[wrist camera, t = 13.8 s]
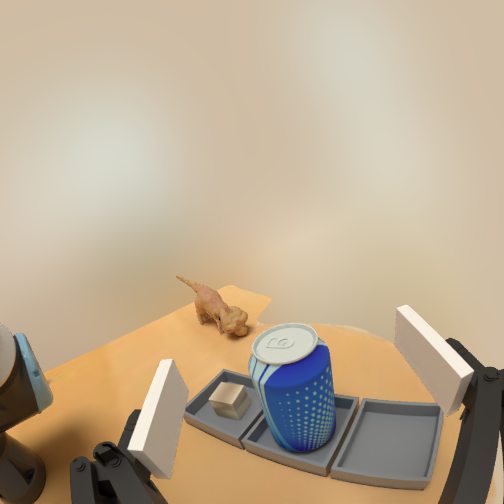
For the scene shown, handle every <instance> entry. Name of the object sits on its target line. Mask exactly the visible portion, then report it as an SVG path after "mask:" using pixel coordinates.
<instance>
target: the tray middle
mask: <svg viewBox="0 0 504 504" xmlns="http://www.w3.org/2000/svg"><path fill="white" fill-rule="evenodd" d="M334 400H335V412H336V428H335V431H334V433H333V435H332V436H331V438H330V439H329V440H328V441H327V442H326V443H324V444H323V445H321V446H320V447H318V448H315V449H313V450H309V451H302V452H297V451H290V450H287V449H284V448H282V447H281V446H280V445H278V444H277V443H276V441H275V440H274V438H273V436H272V433H271V431H270V428H269V425H268V423H267V420H266V417H265V415H264V413H263V415H262V416H261V417H260V418H259V420H258V421H257V422H256V423H255V425H254V426H253V427H252V428H251V430H250V431H249V432H248V433H247V434H246V436H245V437H244V438H243V439H242V440H241V441H242V443H243V445H244V446H245V448H246V450H247V452H250V453H252V454H255V455H257V456H260V457H263V458H265V459H268V460H271V461H274V462H276V463H279V464H282V465H285V466H288V467H292V468H295V469H298V470H302V471H305V472H309V473H312V474H316V475H320V476H324V477H327V476H328V474H329V472H330V470H331V467H332V465H333V463H334V461H335V460H336V458H337V456H338V454H339V452H340V450H341V448H342V446H343V444H344V441H345V439H346V437H347V435H348V433H349V431H350V429H351V426H352V424H353V422H354V419H355V417H356V415H357V412H358V410H359V397H351V396H344V395H337V394H334Z"/></svg>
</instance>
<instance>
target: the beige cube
mask: <svg viewBox="0 0 504 504" xmlns="http://www.w3.org/2000/svg"><path fill="white" fill-rule="evenodd" d="M209 401H210V403H211V405H212V407H213V409H214V411H215V413H216V415H217V416H220V417H224V418H229V419H233V420H238V421H240V420H241V418H242V417H243V415H244V413H245V411H246V410H247V408H248V406H249V405H250V403H251V402H250V399H249V397H248V394H247V392H246V389H245V386H244V385H237V384H231V383H225V382H221V383H220V384H219V386H218V387H217V388H216V390H215V391H214V392H213V394H212V395H211V397H210V398H209Z"/></svg>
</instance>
